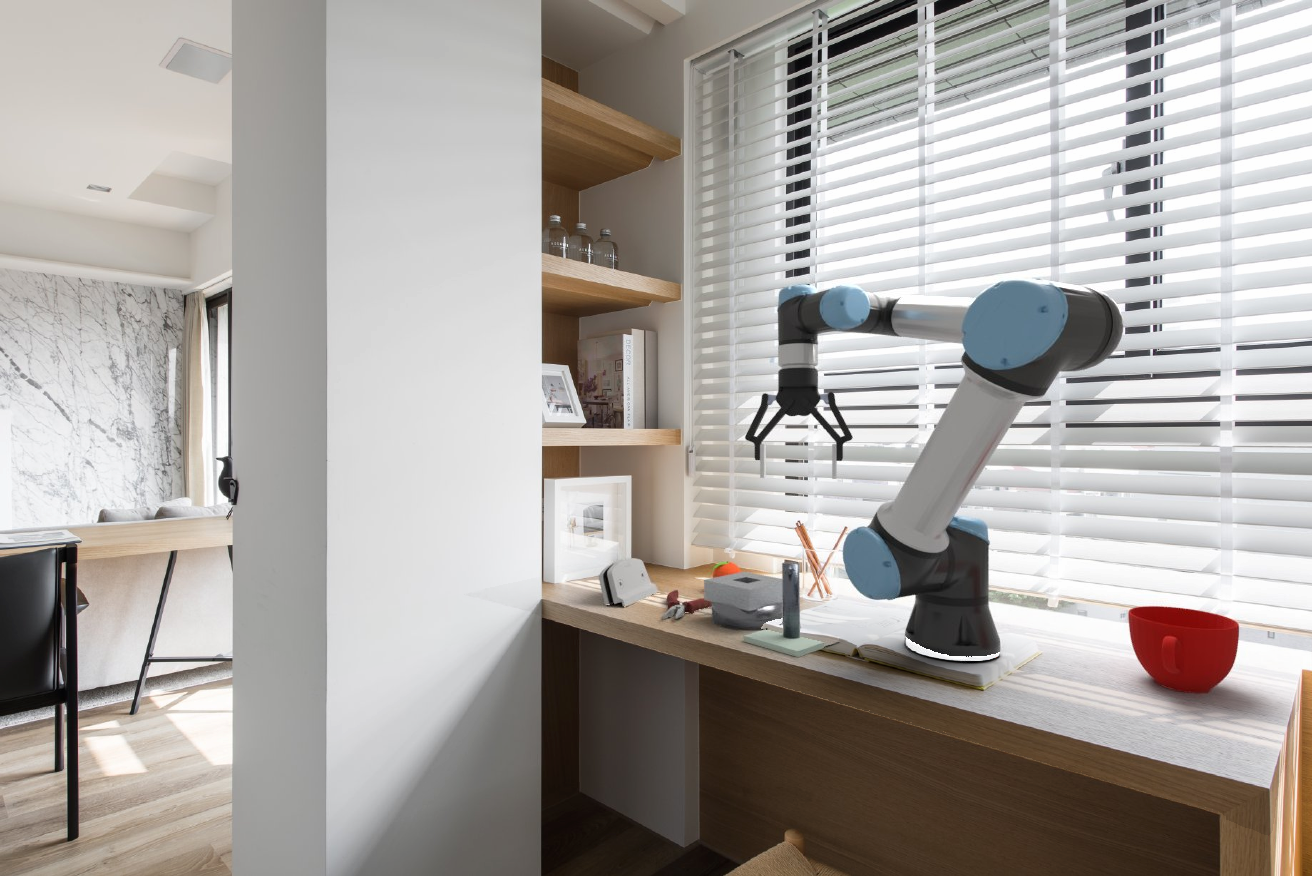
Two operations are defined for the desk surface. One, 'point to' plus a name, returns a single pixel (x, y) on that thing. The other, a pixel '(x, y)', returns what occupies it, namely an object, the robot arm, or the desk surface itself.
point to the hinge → (626, 582)
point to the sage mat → (783, 643)
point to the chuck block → (744, 600)
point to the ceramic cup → (1183, 646)
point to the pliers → (683, 605)
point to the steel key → (791, 600)
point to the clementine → (725, 569)
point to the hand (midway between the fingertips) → (798, 478)
